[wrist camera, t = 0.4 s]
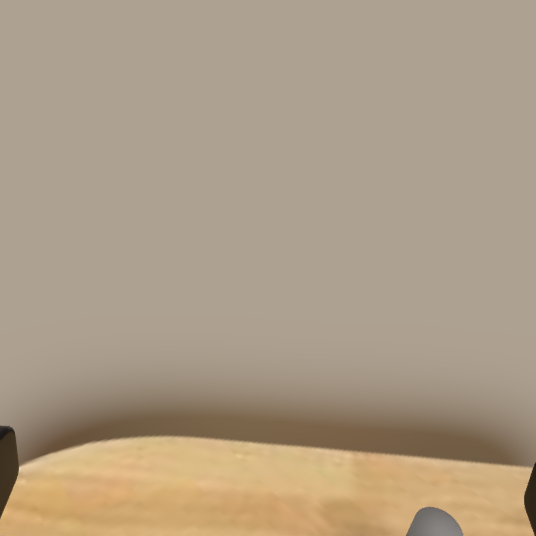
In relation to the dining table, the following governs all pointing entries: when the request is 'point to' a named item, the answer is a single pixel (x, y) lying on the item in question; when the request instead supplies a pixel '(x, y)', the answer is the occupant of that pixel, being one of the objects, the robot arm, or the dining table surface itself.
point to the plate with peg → (434, 523)
